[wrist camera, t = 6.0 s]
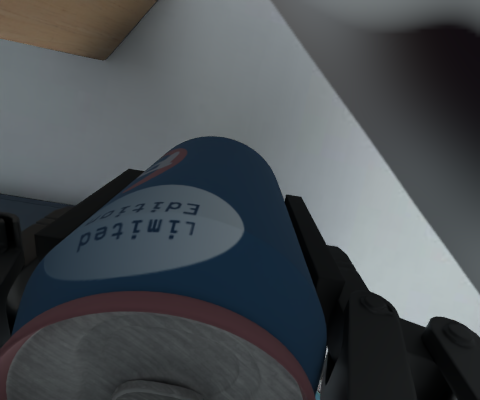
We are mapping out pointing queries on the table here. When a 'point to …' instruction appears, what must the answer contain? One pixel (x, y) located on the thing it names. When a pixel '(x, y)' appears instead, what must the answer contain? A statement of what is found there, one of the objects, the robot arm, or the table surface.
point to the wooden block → (71, 24)
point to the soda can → (174, 292)
